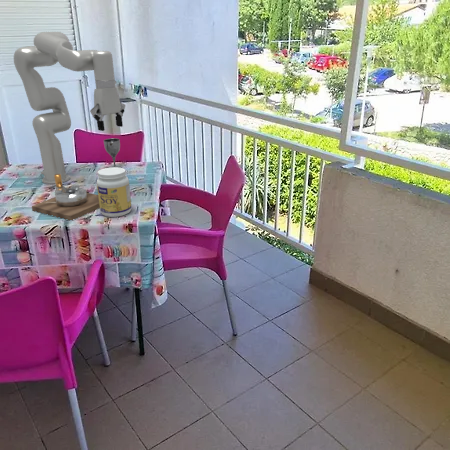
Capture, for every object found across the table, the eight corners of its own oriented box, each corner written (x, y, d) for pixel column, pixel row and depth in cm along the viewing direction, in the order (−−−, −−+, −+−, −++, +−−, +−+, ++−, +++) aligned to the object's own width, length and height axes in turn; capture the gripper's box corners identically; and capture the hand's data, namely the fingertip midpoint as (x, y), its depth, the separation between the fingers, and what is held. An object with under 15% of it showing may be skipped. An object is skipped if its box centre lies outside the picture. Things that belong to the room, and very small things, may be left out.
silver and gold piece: (92, 201, 177) (89, 181, 173) (63, 209, 170) (59, 188, 166) (72, 189, 190) (69, 171, 187) (45, 196, 183) (41, 177, 180)
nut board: (32, 210, 175) (31, 205, 174) (74, 194, 192) (73, 189, 191) (71, 220, 165) (70, 215, 164) (111, 202, 182) (111, 197, 181)
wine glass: (115, 171, 222) (111, 142, 216) (104, 169, 226) (100, 140, 220) (126, 167, 228) (122, 139, 222) (115, 165, 232) (111, 137, 226)
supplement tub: (96, 217, 167) (90, 175, 160) (106, 206, 178) (100, 166, 172) (127, 218, 167) (123, 175, 160) (135, 206, 178) (131, 166, 171)
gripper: (115, 82, 179) (120, 123, 186) (81, 86, 166) (87, 131, 173) (128, 83, 175) (132, 125, 182) (94, 87, 162) (100, 133, 169)
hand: (110, 128), depth 178 cm, fingers open, 9 cm apart
